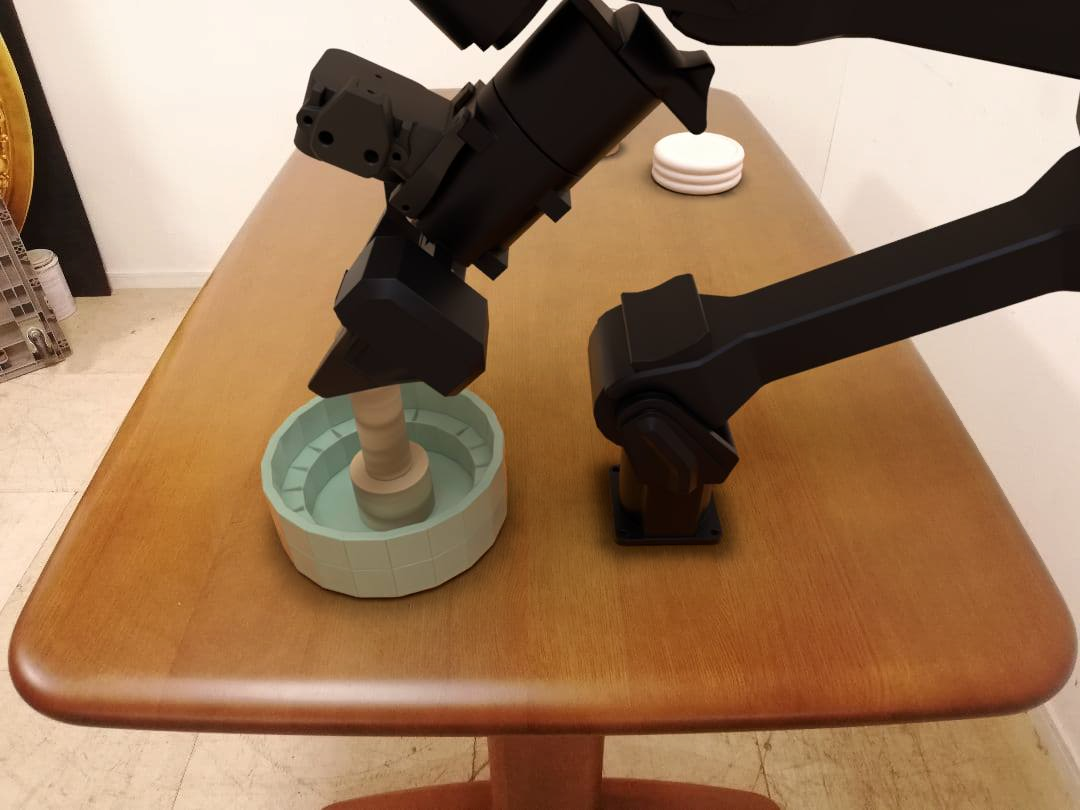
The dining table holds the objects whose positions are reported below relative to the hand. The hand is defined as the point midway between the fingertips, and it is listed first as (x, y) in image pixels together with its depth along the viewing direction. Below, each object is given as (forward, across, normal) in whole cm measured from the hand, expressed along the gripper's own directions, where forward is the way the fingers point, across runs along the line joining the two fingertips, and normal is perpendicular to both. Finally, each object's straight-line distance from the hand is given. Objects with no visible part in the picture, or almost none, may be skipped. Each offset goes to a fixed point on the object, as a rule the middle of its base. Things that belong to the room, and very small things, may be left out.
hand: (335, 336), depth 41 cm
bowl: (+8, 0, +11) cm, 14 cm away
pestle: (+8, 0, +10) cm, 13 cm away
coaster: (-10, -50, +30) cm, 59 cm away
